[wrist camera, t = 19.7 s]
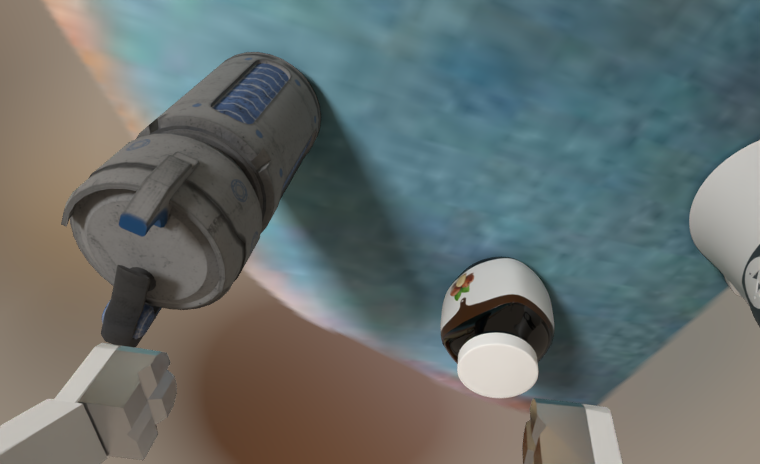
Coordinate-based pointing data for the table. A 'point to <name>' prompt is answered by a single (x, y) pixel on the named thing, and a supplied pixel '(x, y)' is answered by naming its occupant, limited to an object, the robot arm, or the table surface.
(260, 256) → the table surface
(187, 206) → the beverage bottle
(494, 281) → the spread jar
